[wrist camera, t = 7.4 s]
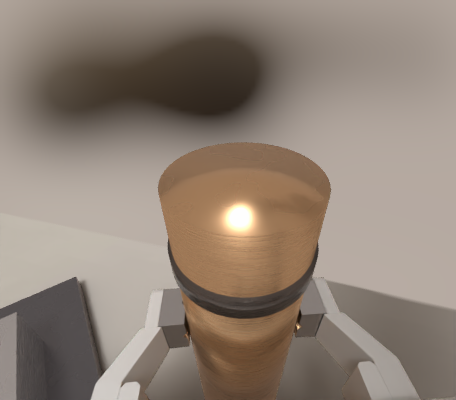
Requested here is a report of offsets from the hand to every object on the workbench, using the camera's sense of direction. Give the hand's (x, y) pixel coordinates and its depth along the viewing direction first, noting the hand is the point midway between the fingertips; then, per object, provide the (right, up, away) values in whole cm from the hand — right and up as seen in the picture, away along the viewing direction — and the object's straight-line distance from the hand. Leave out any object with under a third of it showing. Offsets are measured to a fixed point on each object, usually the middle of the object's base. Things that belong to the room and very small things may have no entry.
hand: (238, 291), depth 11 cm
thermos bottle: (0, -8, +5) cm, 10 cm away
